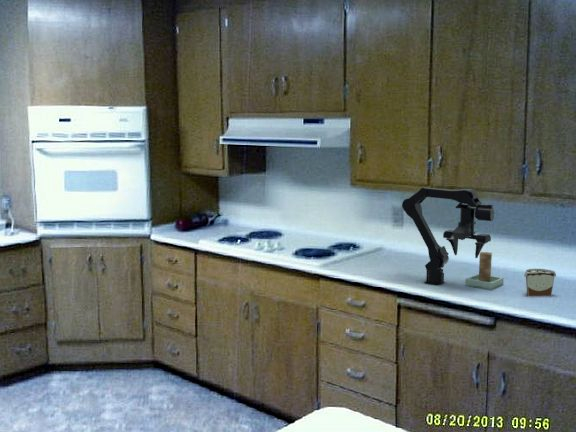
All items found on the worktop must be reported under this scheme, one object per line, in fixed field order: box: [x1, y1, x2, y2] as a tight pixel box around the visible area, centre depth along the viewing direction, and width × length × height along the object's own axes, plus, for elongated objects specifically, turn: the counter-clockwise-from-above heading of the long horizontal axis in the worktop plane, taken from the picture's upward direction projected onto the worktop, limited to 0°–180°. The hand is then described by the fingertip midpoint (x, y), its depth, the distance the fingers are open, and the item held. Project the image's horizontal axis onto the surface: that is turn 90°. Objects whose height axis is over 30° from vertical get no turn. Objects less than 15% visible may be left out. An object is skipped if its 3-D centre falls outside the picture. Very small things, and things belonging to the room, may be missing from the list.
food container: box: [523, 268, 557, 298], centre depth 258 cm, size 12×6×10 cm, turn 92°
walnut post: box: [478, 251, 493, 282], centre depth 272 cm, size 4×4×13 cm
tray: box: [464, 273, 504, 291], centre depth 273 cm, size 12×12×3 cm
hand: (465, 256), depth 269 cm, fingers open, 9 cm apart
